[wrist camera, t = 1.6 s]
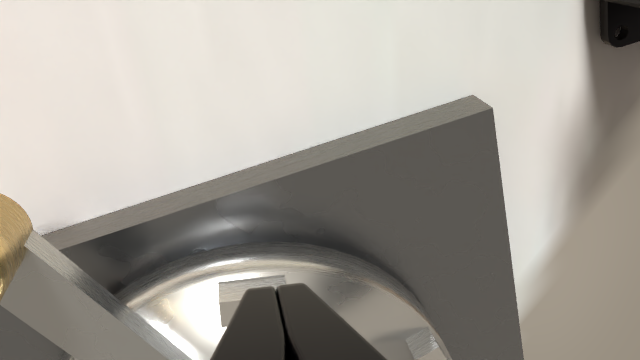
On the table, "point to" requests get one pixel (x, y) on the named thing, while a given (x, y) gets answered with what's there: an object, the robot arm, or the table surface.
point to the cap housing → (338, 225)
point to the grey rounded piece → (196, 298)
